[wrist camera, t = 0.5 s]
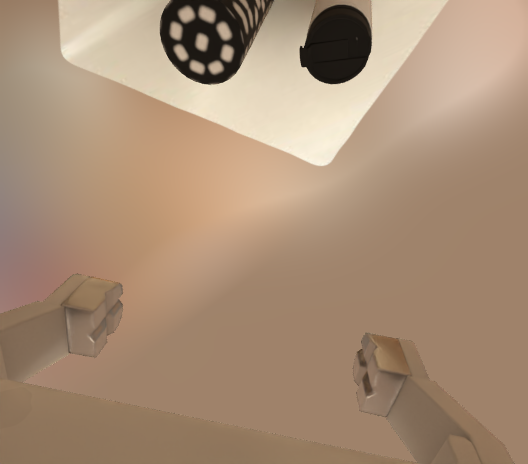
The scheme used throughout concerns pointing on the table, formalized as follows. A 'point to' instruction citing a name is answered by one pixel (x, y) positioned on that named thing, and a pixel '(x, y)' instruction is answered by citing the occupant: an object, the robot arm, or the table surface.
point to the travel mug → (338, 40)
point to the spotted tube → (210, 35)
